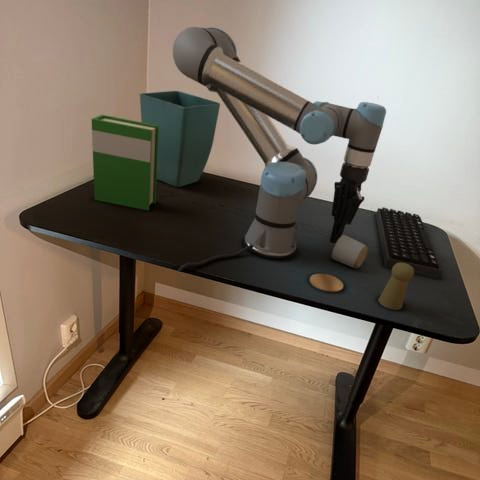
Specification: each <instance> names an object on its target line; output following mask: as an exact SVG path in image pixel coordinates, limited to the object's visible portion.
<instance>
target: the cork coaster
mask: <svg viewBox="0 0 480 480" xmlns="http://www.w3.org/2000/svg"><path fill="white" fill-rule="evenodd" d="M309 283H310V284H311V285H312V286H313V287H314V288H316V289H317V290H320V291H323V292H326V293H338V292H339V293H340V291H342V290H343V289H344V283H343V281H342V280H340V279H339V278H337V277H336V276H333V275H331V274H327V273H314V274H312V275H310V277H309Z"/></svg>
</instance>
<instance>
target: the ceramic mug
mask: <svg viewBox="0 0 480 480" xmlns="http://www.w3.org/2000/svg"><path fill="white" fill-rule="evenodd" d="M368 251H369V249H368V246H367V245H365V244H364V243H363V242H360V241H358V240H356V239H354V238H352V237H350V236H348V235H347V234H342V235H341V237H340V238H339V239H338V241H337V243H334V247H333V249H332V252H331V259H332V260H334V261H335V262H338V263H340V264H343V265H345V266H347V267H349V268H352V269H359V268H361V266H362V265H363V263H364V261H365V259H366V258H367V256H368V253H369V252H368Z"/></svg>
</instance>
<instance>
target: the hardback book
mask: <svg viewBox="0 0 480 480" xmlns="http://www.w3.org/2000/svg"><path fill="white" fill-rule="evenodd" d="M158 138H159V126H158V125H153V124H148V123H143V122H141V121H139V120H138V121H137V120H132V119H127V118H121V117H117V116H111V115H106V114H100V115H97V116H96V117H95V116H94V117H93V118H91V140H92V141H91V143H92V163H93V164H92V167H93V168H92V170H93V193H94V195H93V196H94V198H93V199H94V201H99V202H104V203H109V204H114V205H118V206H123V207H129V208H133V209H138V210H144V211H150V209H151V208H150V207H151V206H150V205H151V204H153V205H155V204H156V203H157V184H158V183H157V181H158V179H157V161H158Z"/></svg>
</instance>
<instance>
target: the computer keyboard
mask: <svg viewBox="0 0 480 480" xmlns="http://www.w3.org/2000/svg"><path fill="white" fill-rule="evenodd" d="M375 218H376V225H377V229H378V235H379V243H380V247H381V254H382V258H383V259H382V260H383V265H384V267H385V268H388V269H392V268H393V266H394V265H395V264H396V263H406V264H408V265H410V266H412V267H413V269H414V274H415V275H421V276H425V277H429V278H434V279H438V280H439V279H440V276H441V274H442V272H443V269H442V267H441V264H440V262H439V259H438V257H437V254H436V252H435V250H434V247H433V245H432V242H431V240H430V236H429V235H428V232H427V230H426V227H425V225H424V222H423V220H422V217H421V216H420V215H419V214H416V213H411V212H407V211H405V212H404V211H402V210H399V209H398V210H396V209H392V208H390V209H389V208H387V207H385V206H382V208H380V207H377V210H376V213H375Z"/></svg>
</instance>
